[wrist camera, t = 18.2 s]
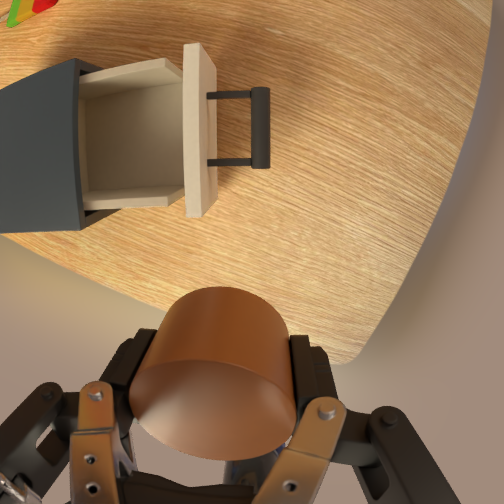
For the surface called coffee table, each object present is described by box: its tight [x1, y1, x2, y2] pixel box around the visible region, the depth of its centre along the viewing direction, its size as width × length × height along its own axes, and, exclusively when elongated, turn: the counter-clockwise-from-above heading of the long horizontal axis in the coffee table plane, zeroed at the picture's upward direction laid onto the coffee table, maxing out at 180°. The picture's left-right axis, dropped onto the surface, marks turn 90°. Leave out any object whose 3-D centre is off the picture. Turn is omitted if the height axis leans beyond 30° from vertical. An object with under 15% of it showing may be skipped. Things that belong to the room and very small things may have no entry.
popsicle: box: [0, 0, 58, 28], centre depth 20 cm, size 6×15×2 cm, turn 89°
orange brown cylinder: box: [129, 287, 297, 461], centre depth 11 cm, size 6×6×4 cm
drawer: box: [78, 43, 270, 217], centre depth 23 cm, size 20×13×8 cm
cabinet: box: [0, 58, 123, 234], centre depth 24 cm, size 16×14×10 cm
